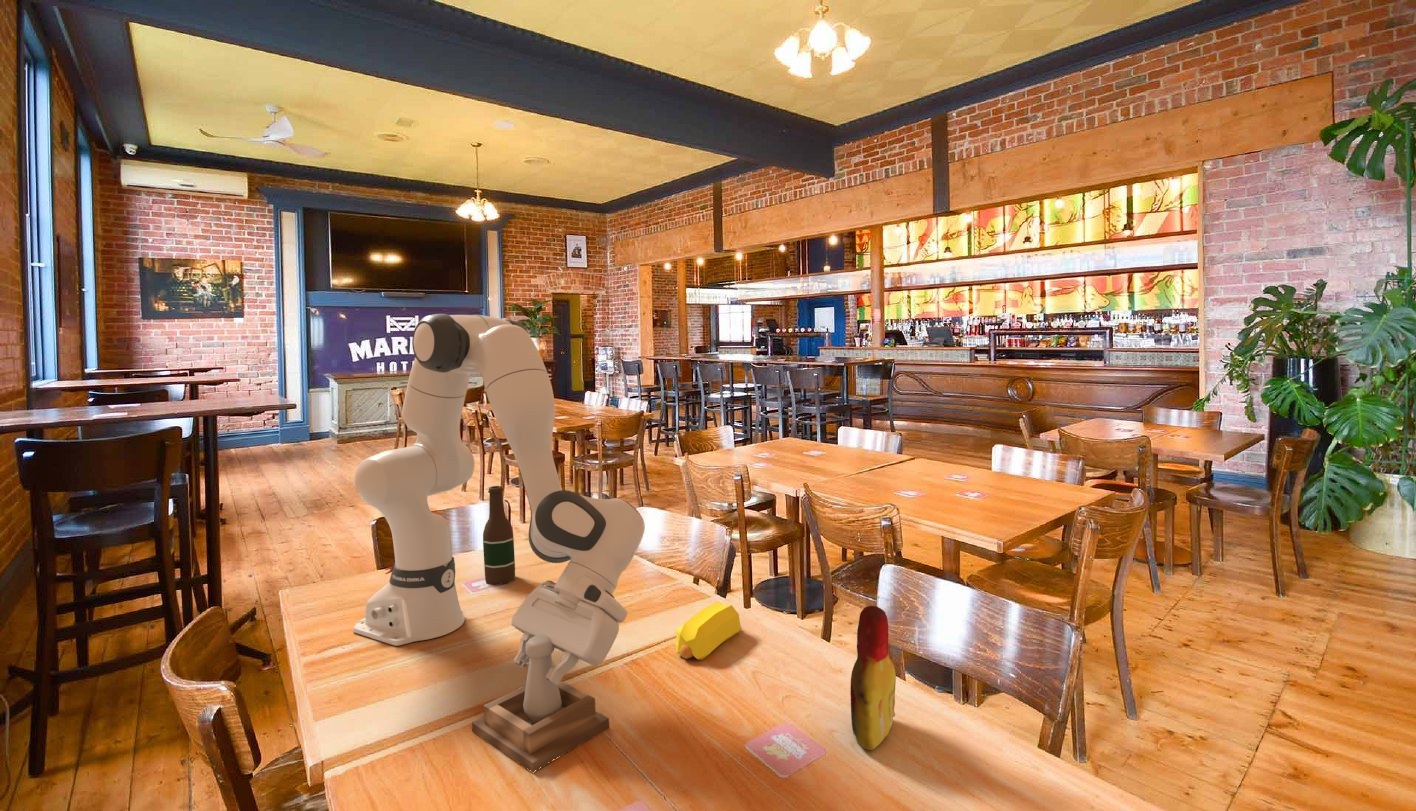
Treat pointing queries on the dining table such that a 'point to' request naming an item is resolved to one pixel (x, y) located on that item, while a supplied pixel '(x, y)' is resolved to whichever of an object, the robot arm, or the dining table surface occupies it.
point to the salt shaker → (540, 681)
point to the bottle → (872, 680)
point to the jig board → (539, 726)
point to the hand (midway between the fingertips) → (534, 673)
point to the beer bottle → (498, 542)
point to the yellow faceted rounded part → (707, 630)
